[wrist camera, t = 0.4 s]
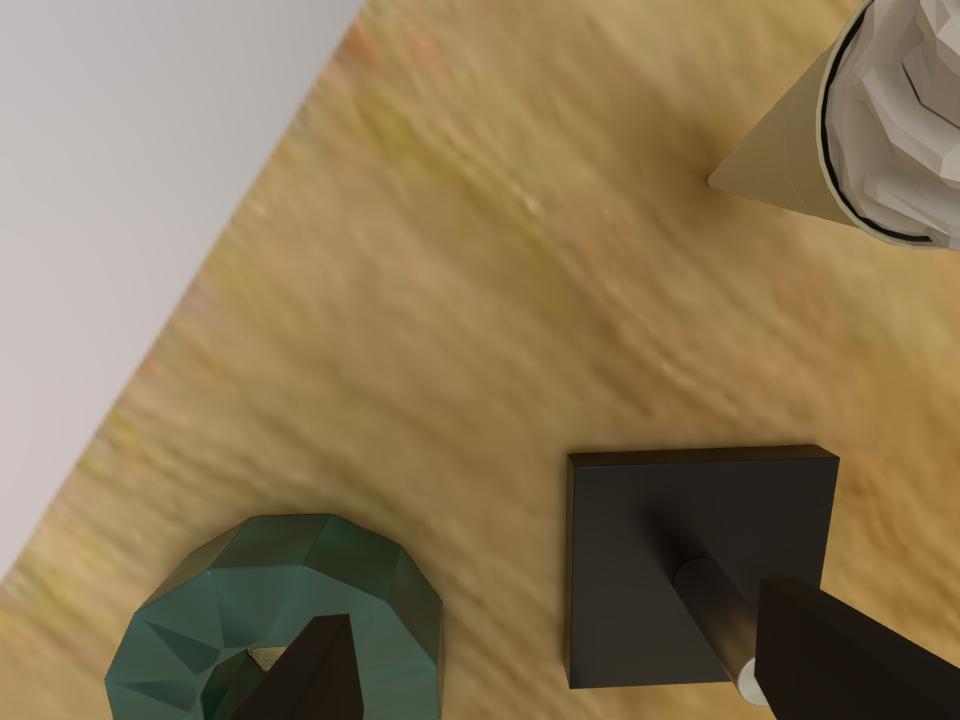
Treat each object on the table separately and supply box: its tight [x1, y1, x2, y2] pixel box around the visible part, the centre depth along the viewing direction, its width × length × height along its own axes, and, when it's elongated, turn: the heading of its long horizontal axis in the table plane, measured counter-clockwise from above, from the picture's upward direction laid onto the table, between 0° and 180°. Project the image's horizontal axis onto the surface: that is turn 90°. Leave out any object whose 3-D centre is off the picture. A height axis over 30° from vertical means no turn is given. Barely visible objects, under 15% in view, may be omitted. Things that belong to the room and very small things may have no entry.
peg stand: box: [564, 445, 840, 706], centre depth 16 cm, size 10×10×6 cm
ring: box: [104, 514, 445, 720], centre depth 18 cm, size 12×12×3 cm
